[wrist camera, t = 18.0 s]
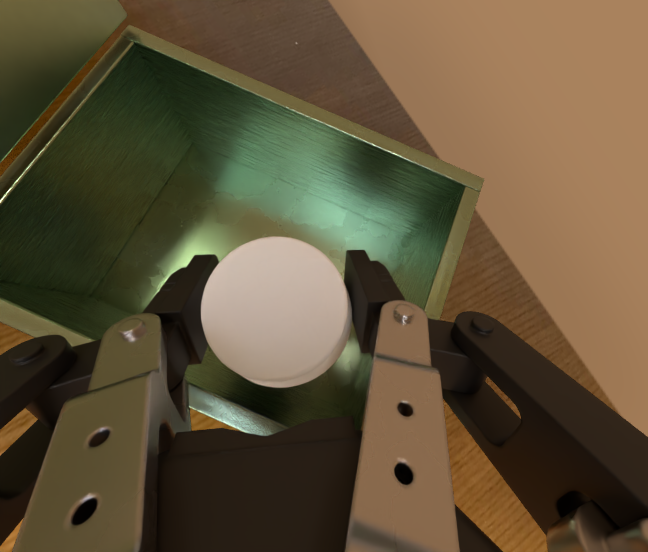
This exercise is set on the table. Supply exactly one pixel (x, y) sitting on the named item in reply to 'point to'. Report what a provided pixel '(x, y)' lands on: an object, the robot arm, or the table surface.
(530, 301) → the table surface
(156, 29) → the table surface
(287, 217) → the open box
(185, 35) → the table surface
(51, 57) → the box lid
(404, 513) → the robot arm
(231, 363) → the pill bottle
